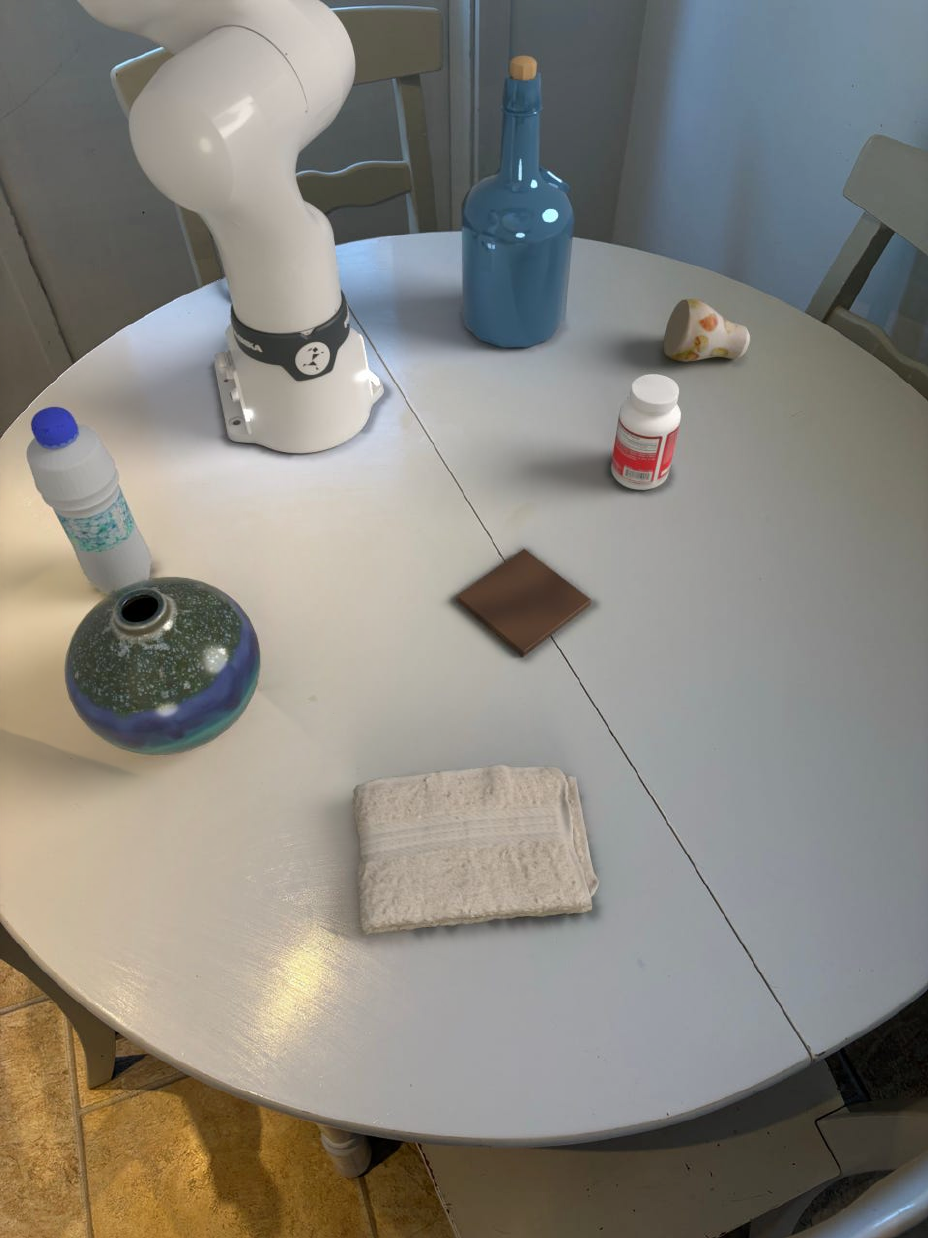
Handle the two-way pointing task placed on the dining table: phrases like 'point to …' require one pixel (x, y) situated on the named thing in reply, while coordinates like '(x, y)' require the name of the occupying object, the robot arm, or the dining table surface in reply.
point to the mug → (702, 334)
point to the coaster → (523, 601)
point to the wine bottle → (517, 230)
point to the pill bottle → (646, 433)
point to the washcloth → (471, 847)
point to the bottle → (87, 500)
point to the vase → (163, 665)
